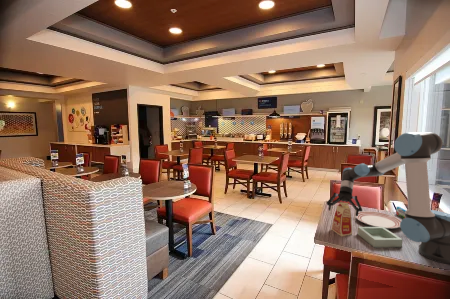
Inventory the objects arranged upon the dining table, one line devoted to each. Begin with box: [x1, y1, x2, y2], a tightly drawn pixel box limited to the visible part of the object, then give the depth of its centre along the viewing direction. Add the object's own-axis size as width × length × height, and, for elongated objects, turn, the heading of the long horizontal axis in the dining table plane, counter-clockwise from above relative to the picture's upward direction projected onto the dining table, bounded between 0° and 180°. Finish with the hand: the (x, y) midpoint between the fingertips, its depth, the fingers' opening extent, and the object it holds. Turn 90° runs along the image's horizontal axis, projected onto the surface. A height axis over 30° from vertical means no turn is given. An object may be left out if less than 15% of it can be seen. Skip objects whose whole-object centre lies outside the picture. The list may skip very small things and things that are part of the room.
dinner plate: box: [356, 210, 402, 230], centre depth 158 cm, size 27×27×3 cm
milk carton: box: [330, 201, 353, 237], centre depth 144 cm, size 9×9×20 cm
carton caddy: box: [357, 226, 404, 249], centre depth 134 cm, size 16×16×5 cm
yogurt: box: [395, 206, 407, 220], centre depth 166 cm, size 12×2×6 cm, turn 177°
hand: (342, 217), depth 142 cm, fingers open, 13 cm apart
